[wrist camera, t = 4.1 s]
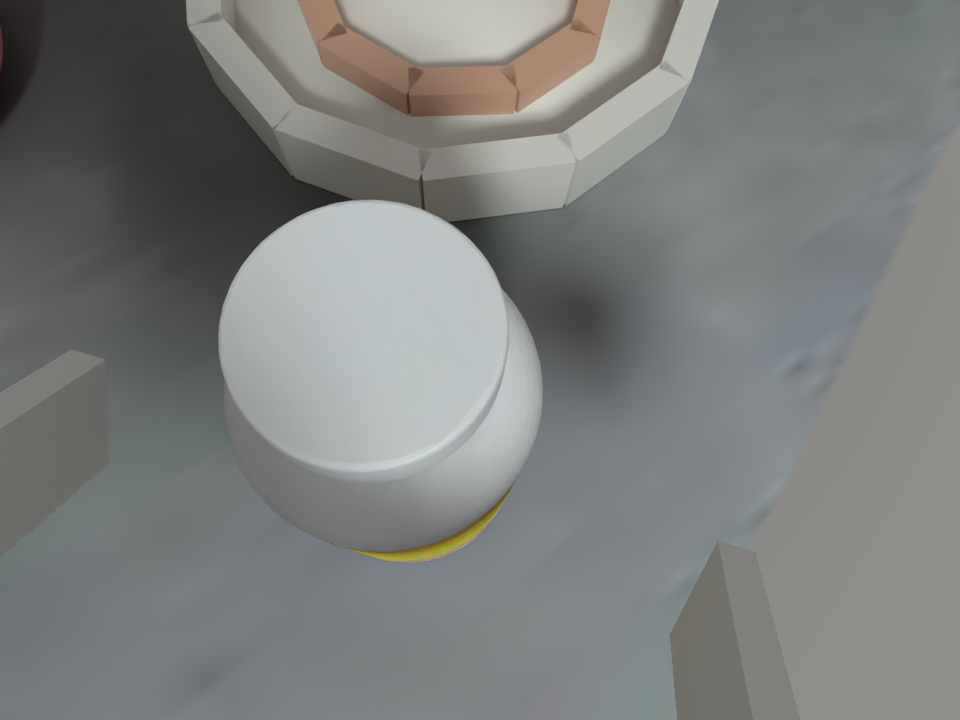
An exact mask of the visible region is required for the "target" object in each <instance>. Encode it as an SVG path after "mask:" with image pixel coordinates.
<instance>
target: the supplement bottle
mask: <svg viewBox="0 0 960 720" xmlns="http://www.w3.org/2000/svg"><path fill="white" fill-rule="evenodd" d="M218 341H219V357H220V363H221V369H222V372H223V376H224V379H225V383H224V413H225V421H226V427H227V431H228V435H229V439H230V442H231V445H232V448H233V452H234V454H235V456H236V459H237V461H238V464H239V466H240V467H241V469H242V471H243V473H244V475H245V476H246V478H247V479H248V481H249V482H250V484H251V485H252V487H253V488H254V489H255V491H256V492H257V493H258V494H259V496H260V497H261V498H262V499H263V500H264V501H265V502H266V503H267V504H268V505H269V507H270V508H272V509H273V510H274V511H275V512H276V513H278V514H279V515H280V516H281V517H283V518H284V519H285V520H286V521H288V522H289V523H291V524H292V525H294V526H296V527H297V528H299V529H300V530H302V531H304V532H306V533H308V534H310V535H312V536H314V537H317V538H319V539H321V540H324V541H326V542H329V543H332V544H334V545H337V546H341V547H345V548H348V549H351V550H354V551H357V552H360V553H363V554H366V555H369V556H371V557H374V558H379V559H383V560H387V561H395V562H421V561H428V560H433V559H437V558H440V557H443V556H445V555H448V554H450V553H452V552H454V551H456V550H458V549H460V548H462V547H463V546H465V545H467V544H468V543H469V542H471V541H472V540H473V539H475V538H476V537H477V536H478V535H479V534H480V533H481V532H482V531H483V530H484V529H485V528H486V527H487V526H488V525H489V524H490V523H491V521H492V520H493V518H494V517H495V515H496V514H497V512H498V511H499V509H500V508H501V506H502V504H503V502H504V500H505V498H506V496H507V495H508V493H509V492H510V490H511V487H512V486H513V484H514V482H515V481H516V479H517V477H518V476H519V474H520V472H521V471H522V469H523V467H524V465H525V463H526V460H527V458H528V456H529V454H530V452H531V449H532V447H533V444H534V441H535V438H536V435H537V431H538V427H539V423H540V418H541V412H542V400H543V385H542V373H541V366H540V360H539V357H538V353H537V350H536V346H535V343H534V340H533V337H532V335H531V332H530V330H529V328H528V326H527V324H526V322H525V320H524V318H523V316H522V315H521V313H520V311H519V310H518V308H517V307H516V305H515V304H514V302H513V301H512V300H511V299H510V297H509V296H508V295H507V294H506V292H505V291H504V290H503V289H502V288H501V286H500V283H499V280H498V278H497V276H496V274H495V272H494V270H493V269H492V267H491V265H490V264H489V262H488V261H487V259H486V258H485V256H484V255H483V254H482V253H481V251H480V250H479V249H478V248H477V247H476V246H475V245H474V243H473V242H472V241H471V240H470V239H469V238H468V237H466V236H465V235H464V234H463V233H462V232H461V231H460V230H458V229H457V228H456V227H454V226H453V225H451V224H450V223H448V222H446V221H444V220H443V219H442V218H440V217H438V216H436V215H434V214H432V213H430V212H427V211H425V210H423V209H420V208H417V207H414V206H410V205H407V204H404V203H398V202H393V201H384V200H351V201H345V202H339V203H334V204H330V205H327V206H323V207H320V208H317V209H314V210H311V211H309V212H306V213H304V214H302V215H300V216H298V217H296V218H294V219H292V220H291V221H289V222H287V223H286V224H284V225H283V226H281V227H280V228H278V229H277V230H275V231H274V232H273V233H272V234H270V235H269V236H268V237H267V238H266V239H264V240H263V241H262V242H261V243H260V244H259V245H258V246H257V247H256V248H255V249H254V250H253V252H252V253H251V254H250V255H249V257H248V258H247V259H246V261H245V262H244V263H243V265H242V266H241V268H240V269H239V271H238V273H237V274H236V276H235V278H234V280H233V281H232V283H231V286H230V288H229V291H228V294H227V296H226V299H225V302H224V304H223V308H222V313H221V317H220V323H219V336H218Z"/></svg>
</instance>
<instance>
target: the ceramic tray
mask: <svg viewBox="0 0 960 720" xmlns="http://www.w3.org/2000/svg"><path fill="white" fill-rule="evenodd" d="M718 1H719V0H186V9H187V25H188V27H189V30H190V32H191V34H192V36H193V38H194V40H195V42H196V44H197V46H198V49H199V51H200V53H201V55H202V57H203V59H204V61H205V63H206V65H207V67H208V69H209V71H210V73H211V75H212V77H213V79H214V82H215V84H216V85H217V87H218V88H219V89H220V90H221V92H222V93H223V94H224V95H225V96H226V98H227V99H228V100H229V101H230V102H231V104H232V105H233V106H234V107H235V108H236V110H237V111H238V112H239V113H240V114H241V116H242V117H243V118H244V119H245V120H246V122H247V123H248V124H249V125H250V126H251V128H252V129H253V130H254V131H255V132H256V134H257V135H258V136H259V137H260V139H261V140H262V141H263V142H264V143H265V145H266V146H267V147H268V148H269V149H270V151H271V152H272V153H273V154H274V155H275V157H276V158H277V159H278V160H279V161H280V163H281V164H282V165H283V166H284V167H285V169H286V170H287V171H288V172H289V173H290V175H291V176H293V175H294V177H295V179H298V180H301V181H304V182H306V183H309V184H312V185H315V186H317V187H320V188H323V189H326V190H328V191H331V192H334V193H337V194H340V195H342V196H345V197H348V198H351V199H353V200H384V201H393V202H398V203H404V204H407V205H410V206H414V207H417V208H420V209H423V210H425V211H427V212H430V213H432V214H434V215H436V216H438V217H440V218H442V219H443V220H444V221H446V222H453V221H461V220H468V219H476V218H484V217H492V216H500V215H508V214H516V213H524V212H532V211H540V210H547V209H555V208H563V204H565V205H566V206H567V205H568V204H570V203H571V202H573V201H574V200H575V199H577V198H578V197H579V196H581V195H582V194H584V193H585V192H586V191H588V190H589V189H590V188H592V187H593V186H595V185H596V184H597V183H599V182H600V181H601V180H603V179H604V178H605V177H607V176H608V175H610V174H611V173H612V172H614V171H615V170H616V169H618V168H619V167H621V166H622V165H623V164H625V163H626V162H627V161H629V160H630V159H631V158H633V157H634V156H636V155H637V154H638V153H640V152H641V151H642V150H644V149H645V148H647V147H648V146H649V145H651V144H652V143H653V142H655V141H656V140H657V139H659V138H660V137H662V136H663V135H664V134H665V132H667V130H668V128H669V126H670V124H671V121H672V119H673V117H674V115H675V113H676V111H677V109H678V107H679V105H680V102H681V100H682V98H683V96H684V94H685V92H686V90H687V88H688V86H689V84H690V81H691V79H692V76H693V73H694V70H695V68H696V65H697V62H698V59H699V56H700V53H701V50H702V47H703V45H704V42H705V39H706V36H707V33H708V30H709V27H710V24H711V21H712V19H713V16H714V13H715V10H716V7H717V4H718Z"/></svg>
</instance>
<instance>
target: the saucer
mask: <svg viewBox="0 0 960 720" xmlns="http://www.w3.org/2000/svg"><path fill="white" fill-rule="evenodd" d="M2 52H3V43H2V33H1V27H0V73H1V65H2Z"/></svg>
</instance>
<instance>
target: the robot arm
mask: <svg viewBox="0 0 960 720" xmlns="http://www.w3.org/2000/svg"><path fill="white" fill-rule="evenodd" d="M108 464H109V452H108V421H107V389H106V360H105V359H102V358H99V357H95V356H92V355H89V354H85V353H82V352H78V351H75V350H70V351H68V352H67V353H65V354H63V355H62V356H60V357H58V358H57V359H55V360H53V361H52V362H50V363H48V364H47V365H45V366H43V367H42V368H40V369H38V370H37V371H35V372H33V373H32V374H30V375H28V376H27V377H25V378H23V379H22V380H20V381H18V382H17V383H15V384H13V385H12V386H10V387H8V388H7V389H5V390H3V391H2V392H0V558H1V557H2V556H3V555H4V554H5V553H7V552H8V551H9V550H10V549H11V548H12V547H13V546H15V545H16V544H17V543H18V542H19V541H20V540H21V539H23V538H24V537H25V536H26V535H27V534H28V533H30V532H31V531H32V530H33V529H34V528H35V527H36V526H38V525H39V524H40V523H41V522H42V521H43V520H44V519H46V518H47V517H48V516H49V515H50V514H51V513H53V512H54V511H55V510H56V509H57V508H58V507H59V506H61V505H62V504H63V503H64V502H65V501H66V500H67V499H69V498H70V497H71V496H72V495H73V494H74V493H76V492H77V491H78V490H79V489H80V488H81V487H82V486H84V485H85V484H86V483H87V482H88V481H89V480H90V479H92V478H93V477H94V476H95V475H96V474H97V473H99V472H100V471H101V470H102V469H103V468H104V467H105V466H107V465H108ZM670 641H671V653H672V664H673V675H674V686H675V698H676V709H677V720H800V718H799V715H798V711H797V707H796V704H795V700H794V696H793V692H792V688H791V684H790V681H789V677H788V673H787V669H786V665H785V662H784V658H783V654H782V650H781V647H780V643H779V639H778V636H777V632H776V628H775V624H774V620H773V616H772V612H771V609H770V605H769V602H768V598H767V594H766V590H765V586H764V583H763V578H762V575H761V571H760V567H759V563H758V560H757V556H756V552H753V551H750V550H747V549H744V548H740V547H737V546H733V545H730V544H727V543H723V542H720V541H718V542H717V544H716V546H715V548H714V549H713V551H712V553H711V555H710V557H709V559H708V561H707V563H706V565H705V567H704V569H703V571H702V573H701V575H700V577H699V579H698V581H697V583H696V585H695V587H694V588H693V590H692V592H691V594H690V596H689V598H688V600H687V602H686V604H685V606H684V608H683V610H682V612H681V614H680V616H679V618H678V620H677V622H676V624H675V626H674V627H673V629H672V631H671V633H670Z"/></svg>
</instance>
